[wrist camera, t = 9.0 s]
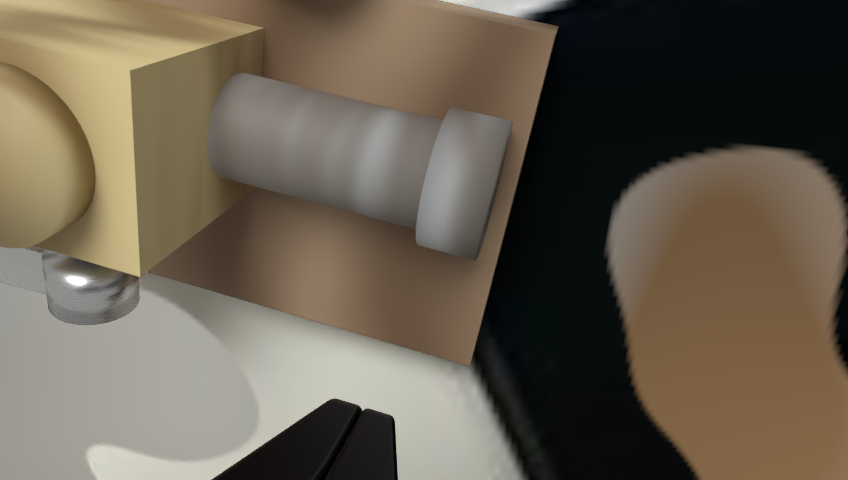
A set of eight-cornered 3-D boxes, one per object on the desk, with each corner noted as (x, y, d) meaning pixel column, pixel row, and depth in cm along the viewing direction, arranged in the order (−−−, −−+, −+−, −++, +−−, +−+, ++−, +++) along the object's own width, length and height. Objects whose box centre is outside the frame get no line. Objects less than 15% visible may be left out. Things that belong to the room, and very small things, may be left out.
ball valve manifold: (558, 26, 18) (529, 100, 10) (477, 341, 23) (419, 540, 16) (49, -84, 20) (-274, -87, 13) (80, 227, 25) (-137, 354, 18)
